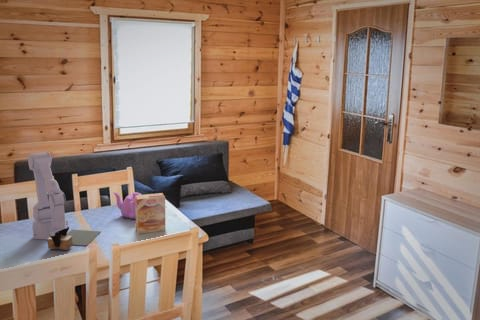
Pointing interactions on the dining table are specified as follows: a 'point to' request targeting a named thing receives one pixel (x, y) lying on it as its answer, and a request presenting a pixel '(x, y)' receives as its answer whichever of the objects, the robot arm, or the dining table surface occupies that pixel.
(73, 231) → the mat
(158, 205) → the coffeecake box
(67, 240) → the card box
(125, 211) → the teapot
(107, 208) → the dining table surface
